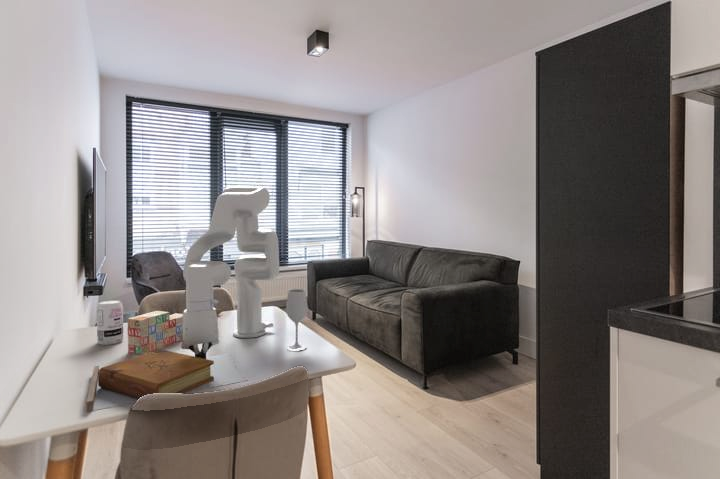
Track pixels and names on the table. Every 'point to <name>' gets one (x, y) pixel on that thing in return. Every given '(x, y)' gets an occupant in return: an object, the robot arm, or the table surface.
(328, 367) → the table surface
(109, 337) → the supplement can
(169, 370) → the diary
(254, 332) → the robot arm
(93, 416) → the table surface
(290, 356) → the table surface
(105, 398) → the display board
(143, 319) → the stack of blocks
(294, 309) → the wineglass
